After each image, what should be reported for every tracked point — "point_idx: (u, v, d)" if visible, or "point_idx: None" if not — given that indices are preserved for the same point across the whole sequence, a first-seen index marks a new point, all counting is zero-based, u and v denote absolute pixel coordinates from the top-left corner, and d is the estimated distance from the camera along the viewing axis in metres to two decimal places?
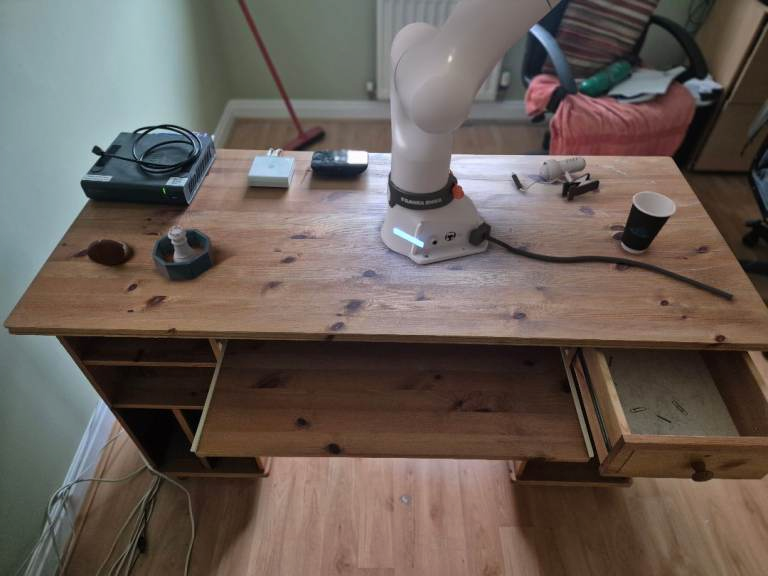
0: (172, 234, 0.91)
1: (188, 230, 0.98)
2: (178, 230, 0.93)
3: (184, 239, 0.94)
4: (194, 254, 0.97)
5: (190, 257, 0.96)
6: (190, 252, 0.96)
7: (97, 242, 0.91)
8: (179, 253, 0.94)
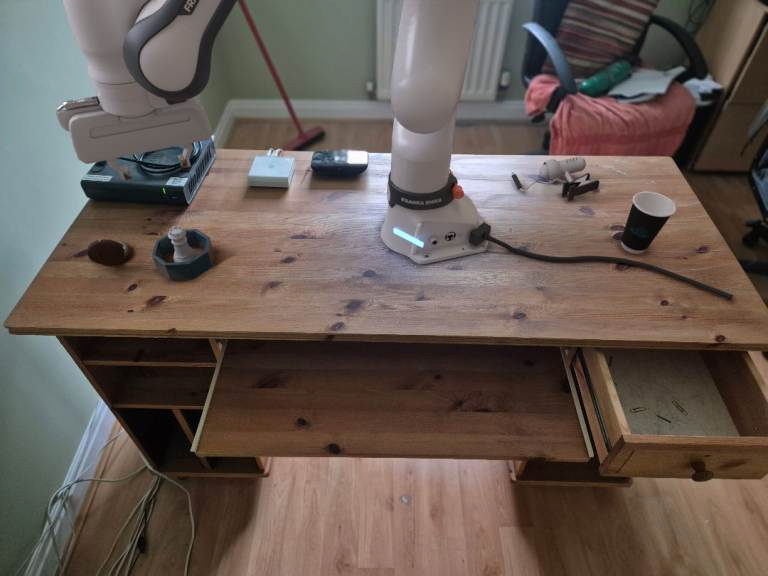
0: (172, 234, 0.91)
1: (188, 230, 0.98)
2: (178, 230, 0.93)
3: (184, 239, 0.94)
4: (194, 254, 0.97)
5: (190, 257, 0.96)
6: (190, 252, 0.96)
7: (97, 242, 0.91)
8: (179, 253, 0.94)
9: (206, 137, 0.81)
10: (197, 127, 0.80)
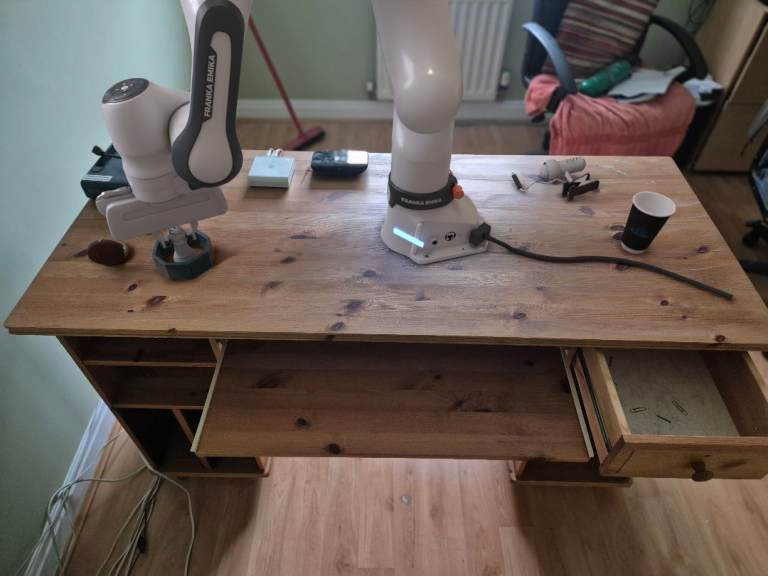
0: (172, 234, 0.91)
1: None
2: (178, 230, 0.93)
3: (184, 239, 0.93)
4: (194, 254, 0.97)
5: (190, 257, 0.96)
6: (190, 252, 0.96)
7: (97, 242, 0.91)
8: (179, 253, 0.94)
9: (223, 212, 0.92)
10: (215, 205, 0.91)
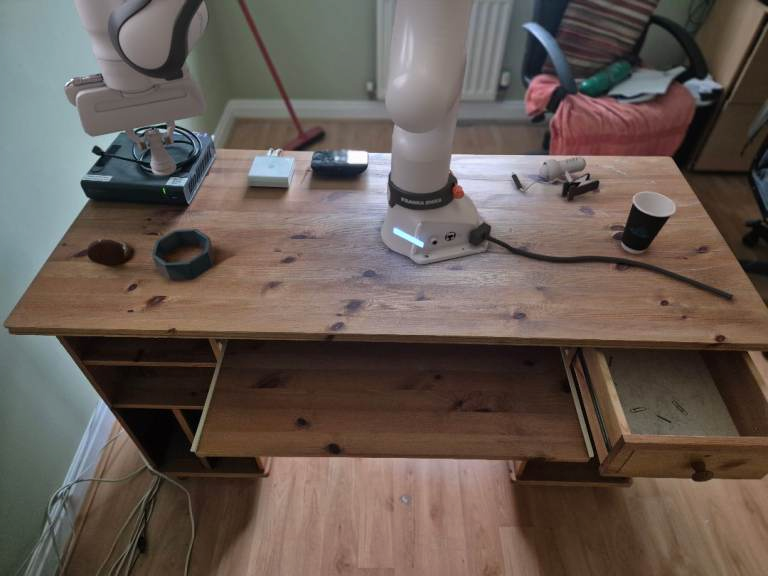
0: (148, 135, 0.88)
1: (188, 230, 0.98)
2: (154, 132, 0.89)
3: (161, 142, 0.90)
4: (172, 161, 0.93)
5: (168, 164, 0.92)
6: (168, 158, 0.92)
7: (96, 242, 0.91)
8: (156, 157, 0.91)
9: (201, 112, 0.88)
10: (193, 103, 0.87)
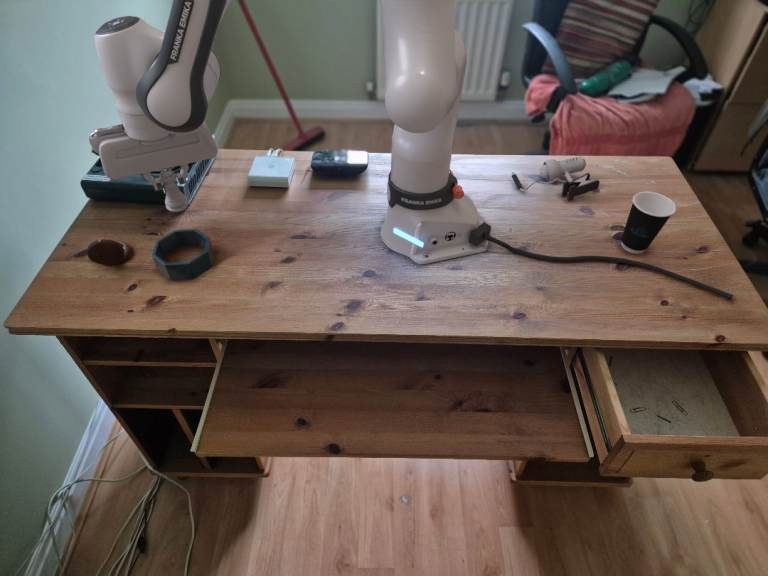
0: (163, 176, 0.95)
1: (188, 230, 0.98)
2: (169, 173, 0.96)
3: (175, 182, 0.97)
4: (185, 198, 1.00)
5: (181, 201, 0.99)
6: (181, 196, 0.99)
7: (96, 242, 0.91)
8: (170, 196, 0.98)
9: (213, 155, 0.96)
10: (205, 147, 0.94)
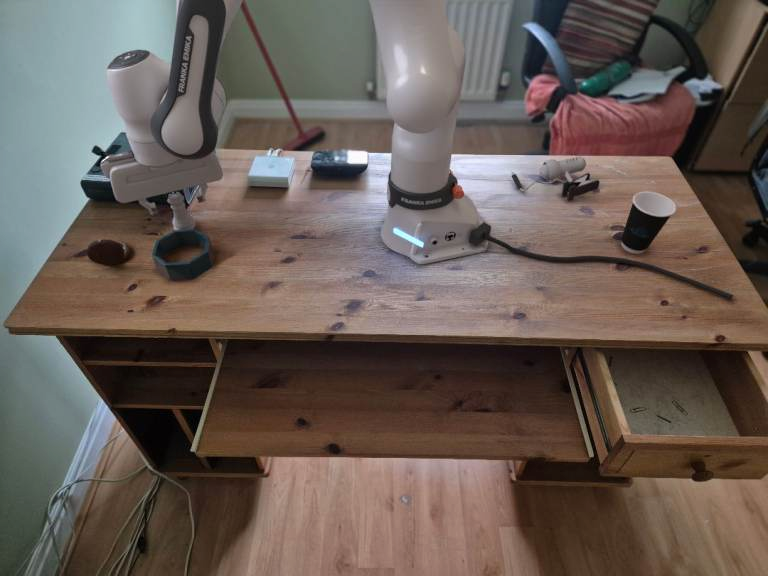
0: (171, 199, 0.99)
1: (188, 230, 0.98)
2: (177, 196, 1.00)
3: (182, 204, 1.01)
4: (191, 219, 1.04)
5: (188, 222, 1.03)
6: (188, 217, 1.03)
7: (96, 242, 0.91)
8: (177, 217, 1.02)
9: (218, 178, 0.99)
10: (211, 171, 0.98)
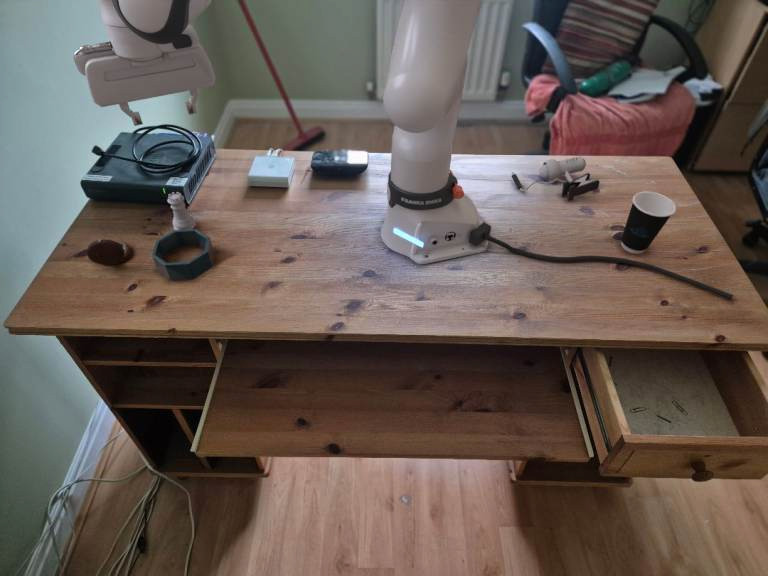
0: (171, 199, 0.99)
1: (188, 230, 0.98)
2: (177, 196, 1.00)
3: (182, 204, 1.01)
4: (191, 219, 1.04)
5: (188, 222, 1.03)
6: (188, 217, 1.03)
7: (96, 242, 0.91)
8: (177, 217, 1.02)
9: (210, 83, 0.88)
10: (202, 73, 0.86)
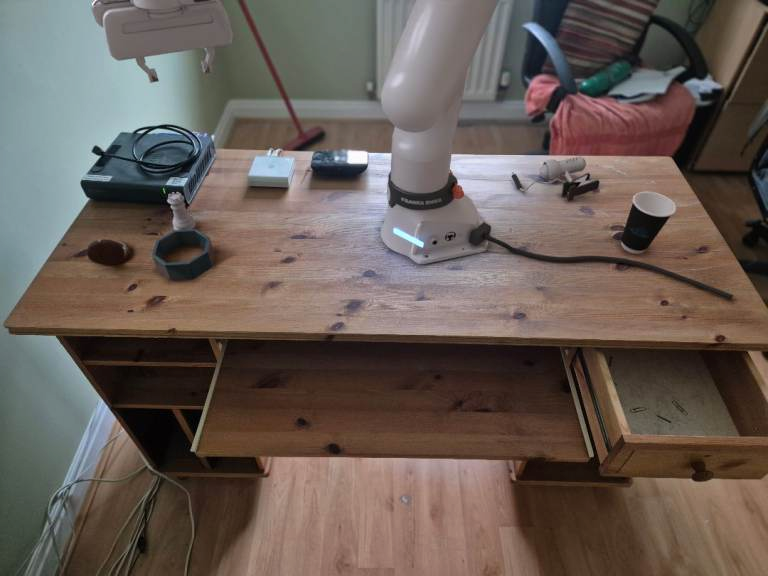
0: (171, 199, 0.99)
1: (188, 230, 0.98)
2: (177, 196, 1.00)
3: (182, 204, 1.01)
4: (191, 219, 1.04)
5: (188, 222, 1.03)
6: (188, 217, 1.03)
7: (96, 242, 0.91)
8: (177, 217, 1.02)
9: (227, 41, 0.87)
10: (219, 30, 0.85)
